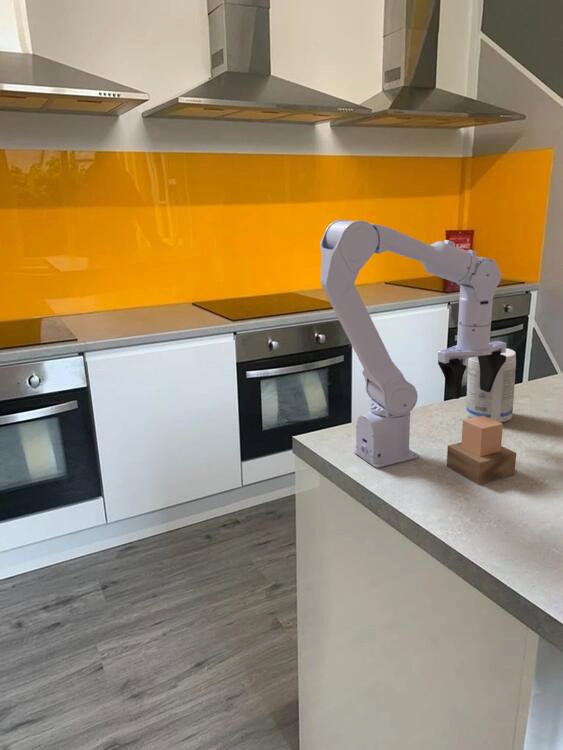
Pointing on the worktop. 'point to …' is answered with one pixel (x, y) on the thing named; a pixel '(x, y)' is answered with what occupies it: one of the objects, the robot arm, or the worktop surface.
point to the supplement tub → (492, 390)
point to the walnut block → (481, 464)
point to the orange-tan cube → (482, 435)
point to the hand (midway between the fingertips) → (469, 394)
